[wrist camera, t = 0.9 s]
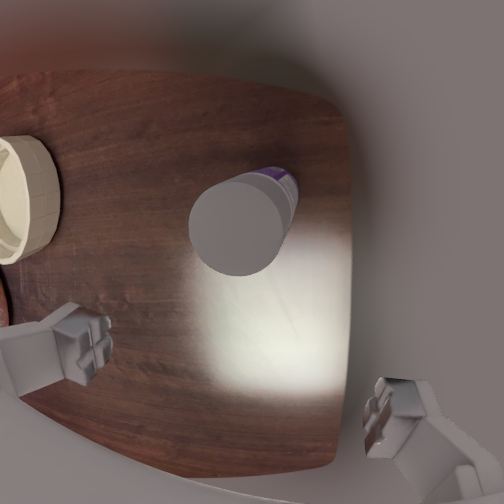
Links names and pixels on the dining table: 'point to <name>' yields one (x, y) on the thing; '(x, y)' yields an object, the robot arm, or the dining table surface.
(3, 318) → the planter
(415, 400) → the robot arm
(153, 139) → the dining table surface
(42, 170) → the bowl
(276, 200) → the container
